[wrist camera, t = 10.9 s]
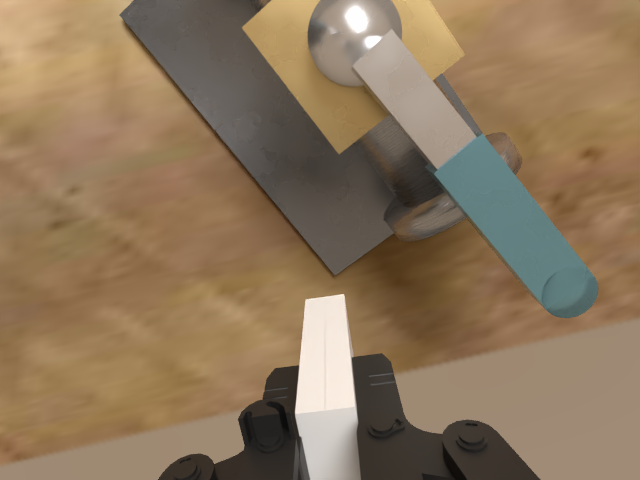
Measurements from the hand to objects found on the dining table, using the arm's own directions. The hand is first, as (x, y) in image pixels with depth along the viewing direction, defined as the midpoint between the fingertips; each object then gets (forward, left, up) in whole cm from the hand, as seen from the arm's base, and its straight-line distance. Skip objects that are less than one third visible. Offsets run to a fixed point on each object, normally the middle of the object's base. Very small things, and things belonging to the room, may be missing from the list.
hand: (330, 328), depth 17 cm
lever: (-1, +8, -8) cm, 12 cm away
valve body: (-8, +5, -18) cm, 20 cm away
